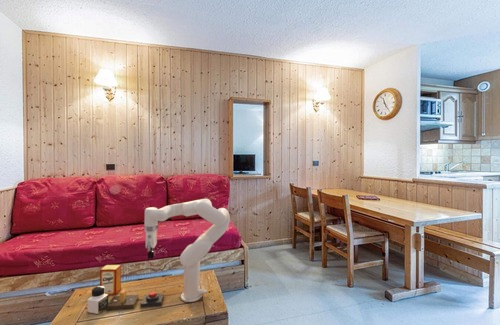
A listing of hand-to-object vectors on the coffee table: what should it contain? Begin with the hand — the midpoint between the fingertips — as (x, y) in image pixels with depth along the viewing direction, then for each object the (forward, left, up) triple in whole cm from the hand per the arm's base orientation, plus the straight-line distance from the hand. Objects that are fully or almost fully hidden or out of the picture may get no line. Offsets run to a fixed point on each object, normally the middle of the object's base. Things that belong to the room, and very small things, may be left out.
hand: (150, 257), depth 152 cm
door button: (-3, +8, -19) cm, 21 cm away
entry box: (-3, +8, -23) cm, 25 cm away
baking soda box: (+25, -7, -23) cm, 35 cm away
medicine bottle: (+25, +11, -23) cm, 36 cm away
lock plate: (+13, +8, -23) cm, 28 cm away
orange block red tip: (+13, +8, -21) cm, 26 cm away
